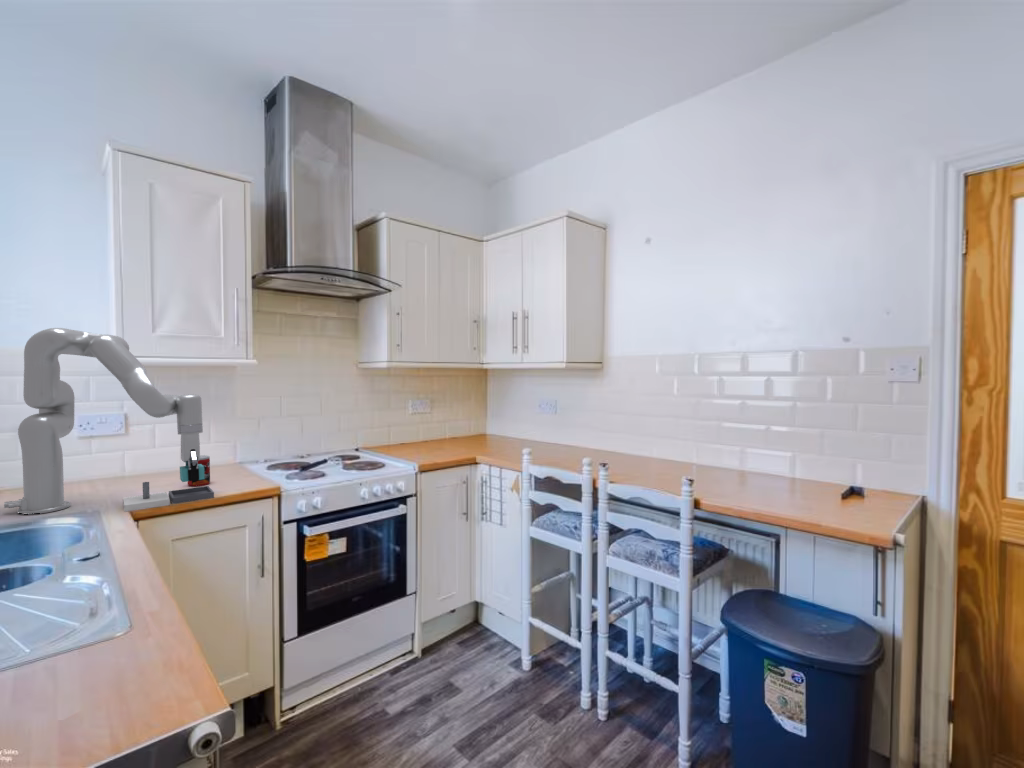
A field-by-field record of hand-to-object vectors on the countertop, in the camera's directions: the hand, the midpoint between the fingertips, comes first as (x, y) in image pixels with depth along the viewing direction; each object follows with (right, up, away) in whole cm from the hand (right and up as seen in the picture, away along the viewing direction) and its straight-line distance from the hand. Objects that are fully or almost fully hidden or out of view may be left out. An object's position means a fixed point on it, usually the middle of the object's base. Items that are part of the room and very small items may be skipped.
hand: (192, 478), depth 175 cm
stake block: (-10, -7, -9) cm, 15 cm away
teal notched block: (0, 0, 0) cm, 0 cm away
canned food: (-10, -6, +19) cm, 23 cm away
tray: (0, -7, 0) cm, 7 cm away
